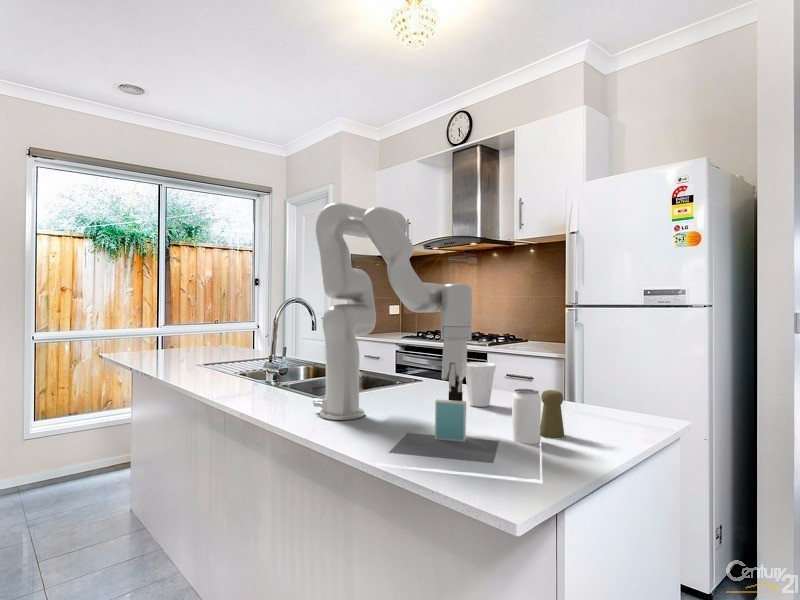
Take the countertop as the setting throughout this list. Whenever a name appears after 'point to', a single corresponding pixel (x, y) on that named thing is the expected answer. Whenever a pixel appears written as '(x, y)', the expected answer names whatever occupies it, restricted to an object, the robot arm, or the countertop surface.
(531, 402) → the can
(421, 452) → the mat
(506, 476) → the countertop surface
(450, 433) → the tile
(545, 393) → the cork
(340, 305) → the robot arm
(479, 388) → the cup
